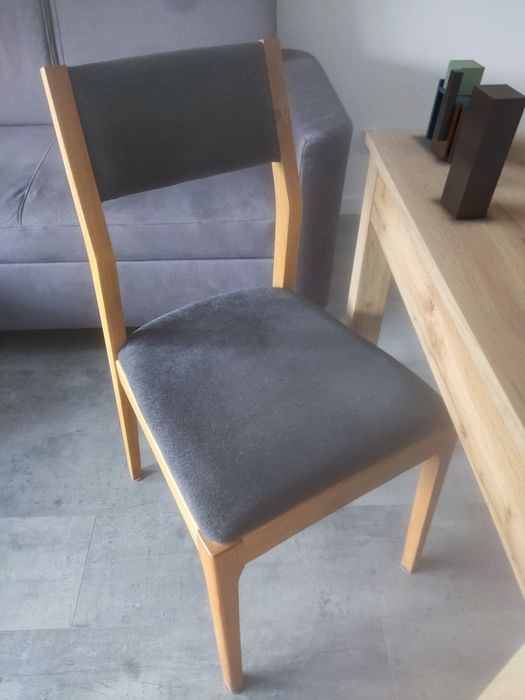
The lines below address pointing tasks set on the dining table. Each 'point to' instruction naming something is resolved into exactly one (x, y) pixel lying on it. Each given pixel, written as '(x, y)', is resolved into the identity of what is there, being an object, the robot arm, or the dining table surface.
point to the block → (466, 74)
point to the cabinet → (463, 103)
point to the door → (447, 115)
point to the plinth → (482, 149)
